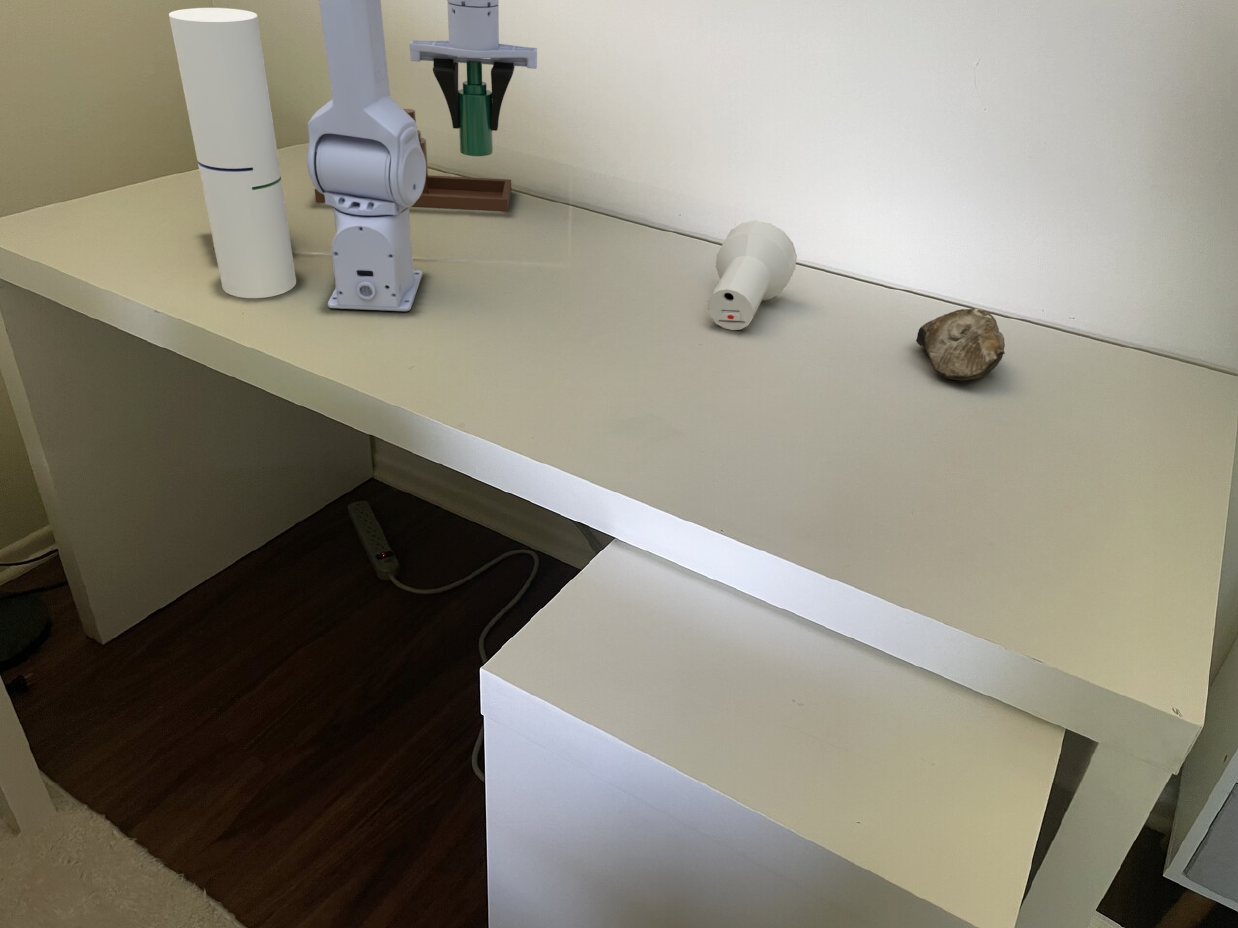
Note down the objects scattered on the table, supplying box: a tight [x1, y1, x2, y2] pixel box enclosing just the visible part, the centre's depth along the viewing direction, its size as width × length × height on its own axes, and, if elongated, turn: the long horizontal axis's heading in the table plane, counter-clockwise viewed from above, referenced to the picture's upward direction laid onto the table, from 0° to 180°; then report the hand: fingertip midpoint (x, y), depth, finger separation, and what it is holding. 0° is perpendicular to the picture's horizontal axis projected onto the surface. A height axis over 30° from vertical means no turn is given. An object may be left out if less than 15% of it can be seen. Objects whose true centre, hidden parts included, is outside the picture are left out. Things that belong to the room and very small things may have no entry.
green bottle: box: [458, 61, 494, 157], centre depth 109 cm, size 4×4×10 cm
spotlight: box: [706, 220, 798, 331], centre depth 93 cm, size 8×11×8 cm
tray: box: [314, 174, 512, 213], centre depth 117 cm, size 8×24×2 cm, turn 92°
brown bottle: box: [402, 108, 429, 194], centre depth 114 cm, size 4×4×10 cm
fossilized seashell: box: [915, 308, 1006, 382], centre depth 87 cm, size 8×7×10 cm
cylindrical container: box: [168, 7, 297, 299], centre depth 86 cm, size 7×7×25 cm
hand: (476, 127), depth 111 cm, fingers closed on green bottle, 4 cm apart
